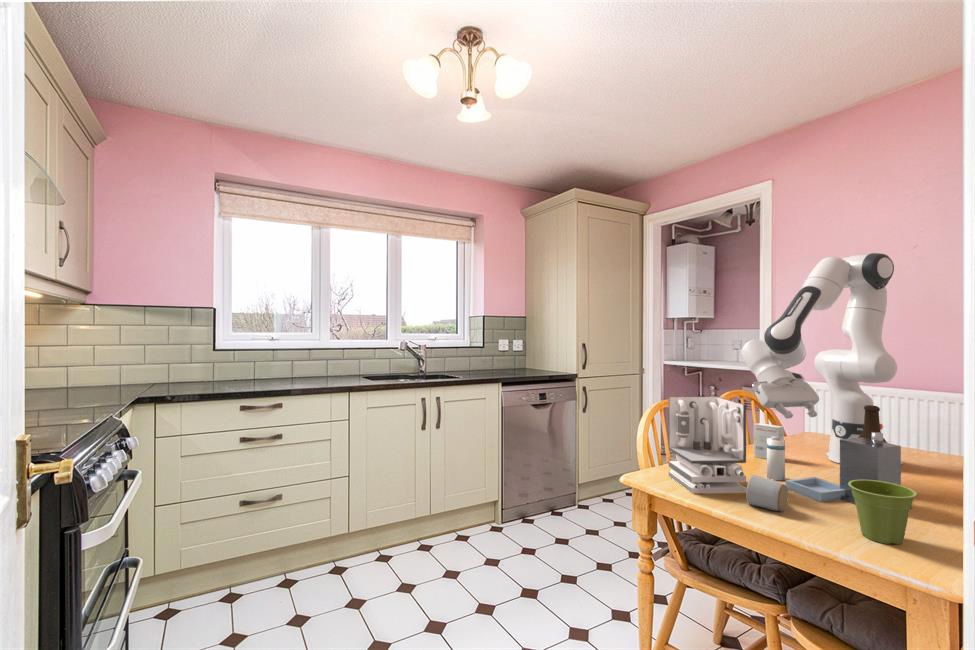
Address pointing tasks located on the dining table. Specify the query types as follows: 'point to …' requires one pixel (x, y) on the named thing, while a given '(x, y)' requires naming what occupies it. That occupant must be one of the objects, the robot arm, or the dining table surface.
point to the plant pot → (882, 509)
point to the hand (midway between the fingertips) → (802, 416)
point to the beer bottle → (871, 421)
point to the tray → (816, 489)
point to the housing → (868, 462)
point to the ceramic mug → (766, 493)
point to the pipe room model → (707, 444)
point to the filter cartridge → (775, 458)
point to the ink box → (765, 437)
